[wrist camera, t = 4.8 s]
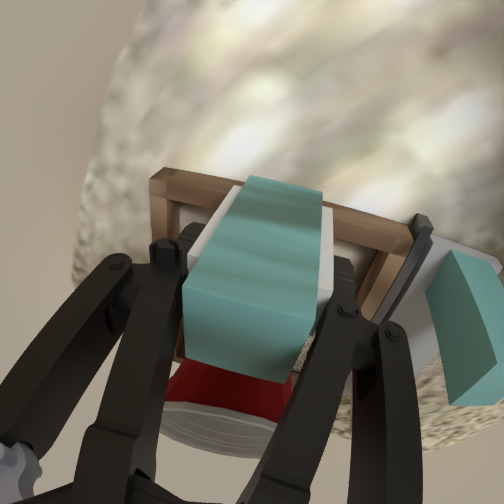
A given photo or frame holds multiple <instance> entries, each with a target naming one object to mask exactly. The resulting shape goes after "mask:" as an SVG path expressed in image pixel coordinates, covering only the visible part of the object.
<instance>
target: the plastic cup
mask: <svg viewBox="0 0 504 504" xmlns="http://www.w3.org/2000/svg"><path fill="white" fill-rule="evenodd" d="M291 393H292V388H291V372H290V374H289V376H288V378H287V380H286V382H285V384H282V383H277V382H273V381H269V380H265V379H260V378H256V377H252V376H248V375H245V374H241V373H237V372H233V371H230V370H226V369H223V368H219V367H216V366H212V365H209V364H206V363H202V362H199V361H196V360H193V359H190V358H187V357H185V359H184V360H183V362H182V363H181V365H180V366H179V368H178V369H177V371H176V372H175V374H174V375H173V376H172V377H171V378H170V379H169V381H168V386H167V391H166V397H165V402H164V407H163V413H162V419H161V424H160V430H159V432H160V433H161V434H163V435H165V436H167V437H169V438H171V439H173V440H175V441H178V442H180V443H183V444H185V445H188V446H191V447H194V448H197V449H200V450H204V451H208V452H212V453H216V454H220V455H227V456H233V457H240V458H256V459H261V458H262V456H263V454H264V452H265V450H266V448H267V446H268V444H269V441H270V439H271V437H272V435H273V433H274V431H275V429H276V427H277V425H278V422H279V420H280V418H281V416H282V414H283V411H284V409H285V407H286V405H287V402H288V400H289V398H290V396H291Z"/></svg>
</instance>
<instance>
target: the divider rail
mask: <svg viewBox="0 0 504 504" xmlns="http://www.w3.org/2000/svg"><path fill="white" fill-rule="evenodd" d="M433 229H434V228H433V226H432V224H431V222H430V220H429V219H428V217H427V216H424V215H421V214H418V213H417V215H416V218H415V220H414V222H413V225H412V227H411V229H410V233H411V236H412V238H413V240H414V243H413V245H412V247H411V249H410V251H409V253H408V255H407V257H406V259H405V261H404V263H403V265H402V267H401V269H400V270H399V272H398V274H397V276H396V278H395V280H394V281H393V283H392V285H391V287H390V289H389V290H388V292H387V294H386V296H385V297H384V299H383V301H382V303H381V304H380V306H379V308H378V309H377V311H376V313H375V314H374V316H373V318H372V319H371V322H373V323H375V324H377V325H379V324H380V323H381V321H382V320H383V318H384V317H385V315H386V314H387V312H388V310H389V309H390V307H391V306H392V304H393V302H394V301H395V299H396V297H397V296H398V294H399V292H400V291H401V289H402V287H403V286H404V284H405V282H406V280H407V279H408V277H409V275H410V273H411V271H412V270H413V268H414V266H415V264H416V262H417V260H418V259H419V257H420V255H421V253H422V251H423V249H424V247H425V245H426V243H427V241H428V239H429V237H430V235H431V233H432V231H433Z"/></svg>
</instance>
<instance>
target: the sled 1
mask: <svg viewBox="0 0 504 504" xmlns="http://www.w3.org/2000/svg"><path fill="white" fill-rule="evenodd" d="M149 182H150V209H151V227H152V242H154V241H155V240H157V239H162V238H171V239H175V240H176V239H177V238H178V236H179V202H184V203H188V204H193V205H198V206H202V207H207V208H211V209H216V210H217V209H218V208H219V206H220V205H221V203H222V202H223V200H224V199H225V197H226V196H227V195H228V193H229V192H230V190H231V189H232V187H233V186H234V185H236V186H241V187H242V188H241V190H240V191H239V193H238V195H237V196H236V198H235V199H234V201H233V203H232V204H231V206H230V207H229V209H228V211H227V212H226V214H225V215H224V217H223V219H222V220H221V222H220V224H219V225H218V227H217V228H216V230H215V232H214V233H213V235H212V237H211V238H210V240H209V242H208V243H207V245H206V247H205V248H204V250H203V252H202V253H201V255H200V257H199V258H198V260H197V262H196V263H195V265H194V267H193V268H192V270H191V272H190V274H189V275H188V277H187V279H186V280H185V282H184V284H183V286H182V297H183V320H184V338H185V343H184V342H183V332H182V320H181V324H180V328H179V333H178V338H177V342H176V347H175V351H174V356H173V361H174V362H177V363H180V364H181V363H182V362H183V360H184V359H185V357H187V358H190V359H193V360H196V361H199V362H202V363H206V364H209V365H212V366H216V367H219V368H223V369H226V370H230V371H233V372H237V373H241V374H245V375H248V376H252V377H256V378H260V379H265V380H269V381H273V382H277V383H282V384H285V382H286V380H287V378H288V376H289V374H290V372H291V370H292V368H293V366H294V364H295V362H296V360H297V358H298V356H299V354H300V352H301V350H302V348H303V346H304V344H305V342H306V339H307V337H308V335H309V333H310V331H311V329H312V327H313V324H314V322H315V317H316V306H317V294H318V280H319V265H320V247H321V225H322V206H325V207H329V208H333V238H336V239H340V240H343V241H347V242H351V243H355V244H358V245H362V246H366V247H370V248H373V249H377V250H378V251H377V254H376V256H375V258H374V260H373V262H372V264H371V267H370V269H369V271H368V273H367V275H366V277H365V279H364V281H363V283H362V285H361V287H360V289H359V291H358V293H357V295H356V304H357V305H358V306H359V308H360V309H361V311H362V316H363V317H365V318H366V319H368V320H369V321H371V319H372V318H373V316H374V314H375V313H376V311H377V309H378V308H379V306H380V304H381V303H382V301H383V299H384V297H385V296H386V294H387V292H388V290H389V289H390V287H391V285H392V283H393V281H394V280H395V278H396V276H397V274H398V272H399V270H400V269H401V267H402V265H403V263H404V261H405V259H406V257H407V255H408V253H409V251H410V249H411V247H412V245H413V243H414V240H413V238H412V236H411V233H410V231H409V228H408V226H407V225H406V224H402V223H399V222H396V221H393V220H389V219H386V218H383V217H379V216H376V215H373V214H369V213H366V212H362V211H359V210H355V209H352V208H348V207H344V206H341V205H337V204H333V203H329V202H326V201H322V192H320V191H316V190H312V189H308V188H304V187H300V186H296V185H291V184H287V183H283V182H279V181H274V180H270V179H265V178H261V177H256V176H251V175H250V176H249V177H248V179H247V180H246V182H241V181H236V180H231V179H226V178H221V177H216V176H211V175H206V174H200V173H195V172H190V171H184V170H178V169H172V168H166V167H164V168H162V169H161V170H160V171H158V172H157V173H156V174H154V175H153V176H152V177H151V178H149ZM299 374H300V373H296V372H291V388H292V391H293V389H294V386H295V384H296V382H297V379H298V377H299Z"/></svg>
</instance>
